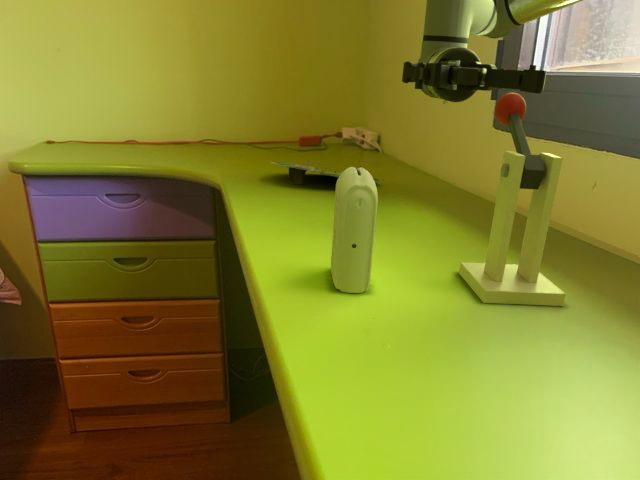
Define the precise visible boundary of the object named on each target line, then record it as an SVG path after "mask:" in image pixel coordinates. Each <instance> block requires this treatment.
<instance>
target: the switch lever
mask: <svg viewBox="0 0 640 480" xmlns="http://www.w3.org/2000/svg"><path fill="white" fill-rule="evenodd" d="M526 112H527V103H526V100H525V98H524V97H523V96H522V95H521V94H520V93H517V92H508V93H505V94H503V95H502V96H501V97H500V98H499V99H498V100H497V102H496V103H495V105H494V115H495V119H496V120H497V122H498V123H499V124H501V125H503V126H505V127H508V128H509V132H510V135H511V138H512V141H513V145H514V147H515V152H517V153H519V154H522V155H524V156H525V161H524V167H523V172H522V178H521V183H520V189H521V190H522V189H523V190H533V189H537V190H538V189H539V186H540V184H541V181H542V179H543V176H544V174H545V171H546V170H545V167H544V164H543V161H542V158H541V155H540V154H532V152H531V148H530V145H529V143H528V139H527V137H526V133H525V130H524V127H523V123H522V120H523V119H524V116H525V115H526ZM520 189H519V190H520Z"/></svg>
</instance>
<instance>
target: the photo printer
mask: <svg viewBox="0 0 640 480" xmlns="http://www.w3.org/2000/svg"><path fill="white" fill-rule="evenodd" d="M343 170H344V169H343ZM343 170H342V171H341V172H340V173H341V175H340V176H339V177H337V180H336V183H335V191H334V194H335V195H334V197H335V198H334V211H333V227H332V228H333V229H332V241H331V242H332V243H331V256H330V272H331V278H332V282H333V285H334V288H335V289H336V290H339V291H340V292H342V293H347V294H362V293H364V292H365V291H368V290H369V287H370V282H371V277H372V276H371V275H372V266H373V256H374V247H375V246H374V245H375V235H376V225H377V224H376V223H377V216H378V215H377V214H378V213H377V212H378V205H379V204H378V203H379V195H378V193H379V192H378V189H377V185H376V184H377V183H375V182H374V179H373V176H372V174H371V173H370V172H369V171H368V170H367V169H366V168H364V167H361V168H359V167H358V168H356V167H355V166H350V167H347V168H345V170H344V171H343Z"/></svg>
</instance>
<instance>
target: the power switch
mask: <svg viewBox="0 0 640 480" xmlns="http://www.w3.org/2000/svg"><path fill="white" fill-rule="evenodd" d="M539 155H541V158H542V161H543V164H544V167H545V170H546V171H545V174H544V176H543V179H542V181H541V184H540V186H539V189H538V190H537V189H532V192H531V197H530V202H529V207H528V212H527V218H526V223H525V227H524V233H523V234H524V235H523V238H522V245H521V249H520V254H519V258H518V263H517V264H513V263H507V258H508V253H509V247H510V242H511V238H512V237H511V235H512V231H513V227H514V220H515V215H516V209H517V205H518V200H519V194H520V183H521V178H522V172H523V167H524V161H525V156H524V155H522V154H519V153H517V152H516V151H514V150H504V151H503V157H502V164H501V168H500V176H499V181H498V187H497V193H496V199H495V204H494V211H493V214H492V215H493V216H492V222H491V228H490V234H489V240H488V246H487V251H486V257H485V262H470V261H469V262H468V261H467V262H466V261H460V263H459V267H458V274H459V276H461V278H462V279H463V280H464V282H466V284H467V285H468V286H469V287H470V289H471V290H472V291H473V292H474V294H475V295H476V296H477V297H478V298H479V299H480V301H481V302H482V303H483V304H501V305H502V304H504V305H525V306H547V307H548V306H549V307H551V306H552V307H556V306H557V307H563V306H564V304H565V300H566V296H567V295H566V292H564V291H563V290H562V289H561V288H559V287H558V286H557V285H556V284H554V283H553V282H552V281H551V280H549V279H548V278H547V277H546V276H544V275H543V274H542V273H541V272H540V270H541V265H542V259H543V255H544V250H545V246H546V240H547V235H548V230H549V227H550V221H551V216H552V212H553V207H554V202H555V198H556V192H557V188H558V182H559V178H560V173H561V170H562V169H561V168H562V164H563V159H564V158H563V157H561V156H558V155H555V154H552V153H550V152H539Z"/></svg>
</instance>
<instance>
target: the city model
mask: <svg viewBox="0 0 640 480" xmlns="http://www.w3.org/2000/svg"><path fill="white" fill-rule="evenodd" d="M269 163H271V164H273V165H274V164H275V165H279V166H283V167H285V168H287V169H288V180H289V181H293V183H294V184H298V185H303V183H304V178H305V176H306V173H307V171H309V172H313V173H317V174H320V175H323V176H330V177H333V178H339V176H340V175H341V173H342V172H343V171H344V170H346V165H344V166H343V169H342V172H337V171H336V170H335V171H333V170H332V171H331V169H330V170H326V169H324V170H323V169H320V170H319V169H318V167H319V166H317V167H316V168H315V166H314V167H313V166H309V164H310V165H312V162H311V160H307V163H306V165H304V164H303V165H301V164H297V163H287V162H280V161H275V162H271V161H270V162H269ZM327 163H328V162H325V164H324V165H323V167H325V168H329V167H328V166H327ZM316 164H320V161H317V163H316ZM358 168H363V167H362V166H361V165H360V166H359V167H358ZM372 178H373V179H374V182H375V184H377V185H380V184H381V180H379V179H378V178H376V177H373V176H372ZM383 181H384V179H383Z"/></svg>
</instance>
